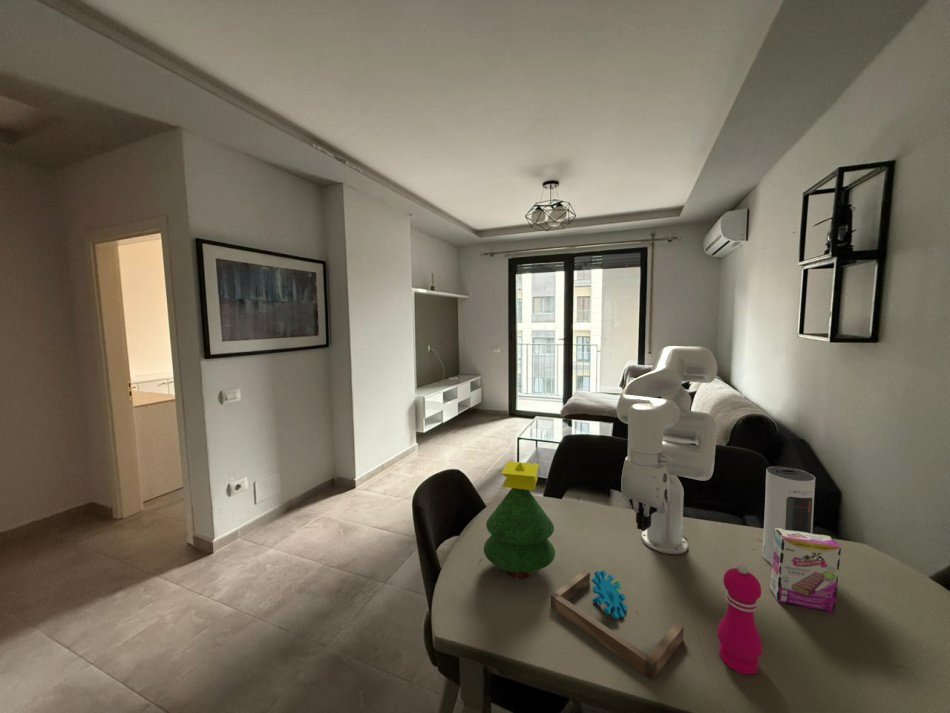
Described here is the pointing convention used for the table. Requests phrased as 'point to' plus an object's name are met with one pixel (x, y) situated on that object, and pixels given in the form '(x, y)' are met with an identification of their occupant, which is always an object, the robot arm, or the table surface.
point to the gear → (608, 594)
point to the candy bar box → (805, 569)
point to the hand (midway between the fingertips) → (643, 527)
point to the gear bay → (610, 639)
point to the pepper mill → (740, 621)
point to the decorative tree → (519, 526)
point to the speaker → (787, 504)
